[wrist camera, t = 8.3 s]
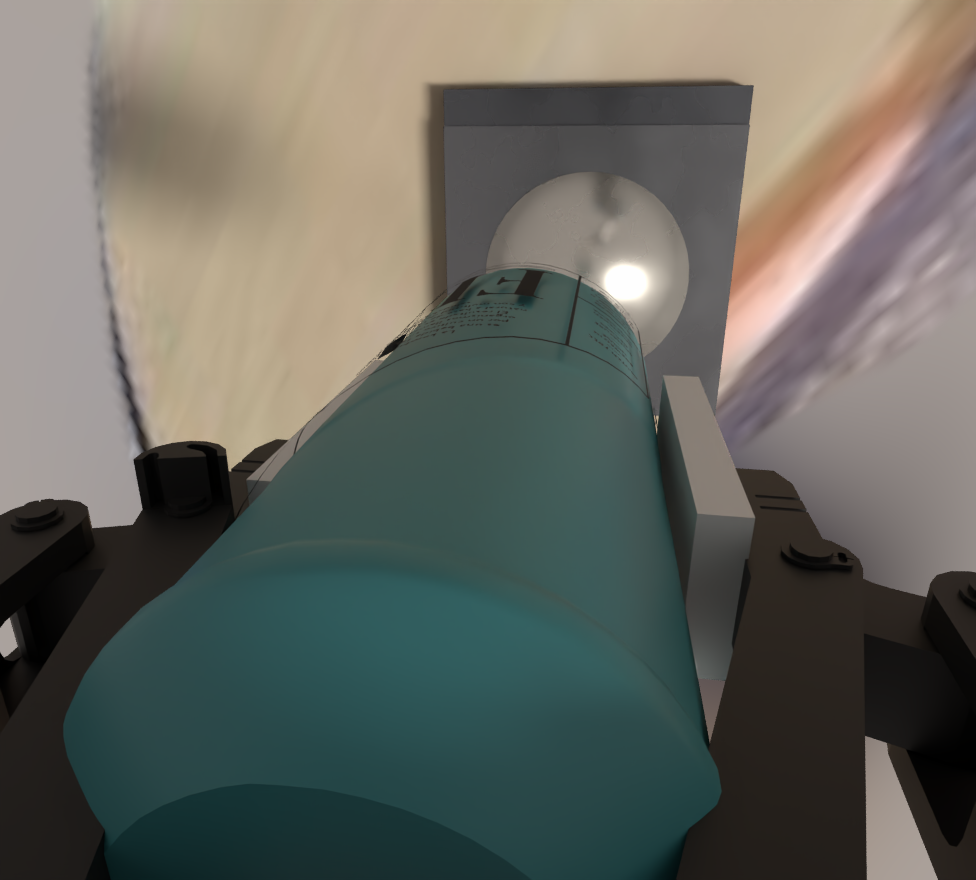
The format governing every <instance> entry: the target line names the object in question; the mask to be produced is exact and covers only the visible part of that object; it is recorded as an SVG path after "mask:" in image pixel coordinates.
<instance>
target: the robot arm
mask: <svg viewBox="0 0 976 880" xmlns="http://www.w3.org/2000/svg"><path fill="white" fill-rule="evenodd" d="M382 362H383V361H380V360H375V361H374V362H373V363H371V364H370V365H369V366H368V367H367V368H366V369H365V370H364V371H363V372H362V373H361V374H360V375H358V376H357V377H356V378H355V379H354V380H353V381H352V382H351V383H350V384H349V385H348V386H347V387H346V388H344V389H343V390H342V391H341V392H340V393H339V394H338V395H337V396H336V397H337V398H336V397H335V398H336V399H335V398H334V399H333V400H332V401H330V402H331V403H330V402H329V403H330V404H329V403H328V404H329V405H328V404H327V405H326V406H325V407H326V408H325V407H324V408H325V409H324V410H322V411H320V412H319V414H318V415H317V414H316V415H315V416H314V417H313V418H312V420H311V421H310V422H308V423H307V424H306V425H305V426H306V427H305V426H303V427H302V428H301V429H300V430H299V431H298V432H297V433H296V434H295V435H294V436H293V437H292V438H293V439H292V438H291V439H292V440H291V439H289V440H280V439H276V440H274V441H272V442H269V443H267V444H265V445H262V446H260V447H258V448H255V449H254V450H253V451H252V452H251V453H250V454H248V455H247V456H246V457H245V458H244V459H243V460H242V462H239V463H238V464H237V465H236V466H234V467H233V468H232V469H231V472H229V470H228V463H227V455H226V449H225V448H223V447H222V446H220V445H219V444H215V443H211V442H205V441H186V442H177V443H171V444H166V445H162V446H158V447H155V448H152V449H150V450H148V451H145V452H143V453H141V454H140V455H139V456H137V457H136V458H135V459H134V465H135V471H136V476H137V481H138V487H139V492H140V497H141V503H142V508H143V510H142V511H141V513H140V514H139V516H138V518H137V519H136V521H135V522H134V524H133V525H127V526H115V527H103V528H92V525H91V521H90V516H89V512H88V507H87V506H85V505H84V504H82V503H81V502H77V501H71V500H53V499H45V500H41V502H39V501H33V502H29V503H27V504H26V505H25V506H22V507H19V508H15V509H12V510H10V511H8V512H6V513H4V514H2V515H0V627H1V626H2V625H3V623H4V622H5V621H6V620H7V619H8V618H9V617H10V620H11V624H12V627H13V631H14V634H15V638H16V642H17V645H18V647H17V648H16V649H15V650H14V651H13V652H11V653H10V654H9V655H8V656H6V657H3V656H2V655H1V653H0V880H111V879H110V875H109V871H108V867H107V864H106V860H105V856H104V838H105V829H104V828H103V826H102V825H101V823H100V822H99V821H98V819H97V818H96V816H95V814H94V813H93V811H92V810H91V808H90V806H89V804H88V802H87V800H86V797H85V795H84V793H83V791H82V789H81V787H80V784H79V782H78V780H77V777H76V775H75V773H74V771H73V768H72V766H71V764H70V761H69V759H68V757H67V752H66V747H65V743H64V738H63V724H64V720H65V716H66V713H67V711H68V709H69V707H70V704H71V702H72V700H73V698H74V696H75V693H76V691H77V689H78V687H79V685H80V683H81V681H82V679H83V677H84V675H85V673H86V672H87V670H88V669H89V667H90V666H91V664H92V663H93V662H94V660H95V659H96V657H97V656H98V654H99V653H100V652H101V650H102V649H103V647H104V646H105V645H106V644H107V643H108V642H109V641H110V640H111V639H112V638H113V637H114V635H115V634H116V633H117V632H118V631H119V630H120V629H121V628H122V627H123V626H124V625H125V624H126V623H127V622H128V621H129V620H130V619H131V618H132V617H133V616H134V615H135V614H136V613H137V612H138V611H139V610H140V609H141V608H142V607H143V606H145V605H146V604H148V603H149V602H150V601H152V600H153V599H155V598H156V597H158V596H159V595H160V594H162V593H163V592H165V591H166V590H168V589H169V588H170V587H172V586H174V585H175V584H176V583H177V582H178V581H179V580H180V579H181V578H182V577H183V575H184V574H185V573H186V572H187V571H188V570H189V569H190V568H191V567H192V566H193V565H194V564H195V563H196V562H197V561H198V560H199V559H200V558H201V556H202V555H203V554H204V553H205V552H206V551H207V550H208V549H209V548H210V547H211V546H212V545H213V544H214V543H215V542H216V541H217V540H218V539H219V537H220V536H221V535H222V534H223V533H224V532H225V531H226V530H227V529H228V528H229V527H230V526H231V525H232V524H233V522H234V520H235V518H236V516H237V514H238V512H239V510H240V508H241V506H242V504H243V503H244V501H245V500H246V498H247V497H248V495H249V493H250V492H251V490H252V489H253V487H254V486H255V487H254V489H253V490H252V492H251V493H250V495H249V497H248V498H247V500H246V501H245V503H244V504H243V506H242V508H241V510H240V513H239V514H238V517H239V516H240V515H241V514H242V513H243V512H244V511H245V510H246V509H247V508H248V507H249V506H250V505H251V504H252V503H253V502H254V500H255V499H256V498H257V497H258V496H259V495H260V494H261V493H262V492H263V491H264V490H265V488H266V487H267V486H268V484H269V483H270V482H271V481H272V479H273V478H274V477H275V475H276V474H277V473H278V471H279V470H280V469H281V468H282V467H283V466H284V464H285V463H286V462H287V461H288V460H289V459H290V458H291V457H292V456H293V454H294V450H295V446H296V443H297V439H298V437H299V435H300V434H301V432H302V430H303V429H304V430H303V432H302V434H301V436H300V437H299V441H298V445H297V448H296V452H297V451H298V450H299V448H300V447H301V446H302V445H303V444H304V443H305V442H306V441H307V440H308V439H309V438H310V437H311V436H312V435H313V434H314V432H315V431H316V430H317V429H318V428H319V427H320V426H321V425H322V424H323V423H324V422H325V421H326V420H327V419H328V418H329V417H330V416H331V415H332V414H333V413H334V412H335V411H336V410H337V409H338V408H339V406H340V405H341V404H342V403H343V402H344V401H345V400H346V399H347V398H348V397H349V396H350V395H351V394H352V393H353V392H354V391H355V390H356V389H357V388H358V387H359V386H360V385H361V384H362V383H363V382H364V381H365V380H366V379H367V378H368V377H369V376H368V375H370V374H372V373H373V372H374V371H375V370H376V369H377V367H378V366H379V365H380V364H381V363H382ZM367 376H368V377H367ZM365 377H366V378H365ZM364 378H365V379H364ZM362 379H363V380H362ZM361 380H362V381H361ZM359 381H360V382H359ZM358 382H359V383H358ZM356 383H357V384H356ZM355 384H356V385H355ZM353 385H354V386H353ZM352 386H353V387H352ZM350 387H351V388H350ZM349 388H350V389H349ZM347 389H348V390H347ZM346 390H347V391H346ZM344 391H345V392H344ZM343 392H344V393H343ZM341 393H342V394H341ZM340 394H341V395H340ZM304 427H305V428H304ZM657 440H658V446H659V452H660V460H661V471H662V482H663V487H664V493H665V498H666V504H667V509H668V515H669V521H670V526H671V532H672V537H673V543H674V548H675V554H676V559H677V565H678V570H679V576H680V582H681V587H682V593H683V598H684V604H685V609H686V615H687V620H688V626H689V631H690V637H691V643H692V648H693V654H694V659H695V665H696V670H697V676H698V678H702V679H712V680H722V681H725V685H724V689H723V693H722V698H721V701H720V705H719V709H718V714H717V717H716V721H715V725H714V730H713V733H712V737H711V741H710V745H709V749H708V751H709V753H710V754H711V756H712V758H713V760H714V762H715V764H716V766H717V769H718V773H719V779H720V785H721V791H722V792H721V795H720V798H719V801H718V803H717V805H716V806H715V807H714V808H713V809H712V810H711V811H709V812H708V813H707V814H706V815H705V816H704V817H703V818H702V819H700V820H699V821H698V822H696V823H695V824H694V825H693V826H691V827H690V828H689V830H688V834H687V838H686V842H685V846H684V850H683V854H682V858H681V862H680V866H679V870H678V874H677V878H676V880H867V866H866V865H867V864H866V783H865V782H866V780H865V736H868V737H871V738H874V739H877V740H880V741H883V742H886V743H887V746H888V754H889V757H890V759H891V762H892V764H893V767H894V770H895V772H896V775H897V777H898V780H899V782H900V784H901V787H902V790H903V792H904V795H905V797H906V800H907V802H908V805H909V807H910V810H911V812H912V815H913V818H914V820H915V823H916V825H917V827H918V830H919V833H920V835H921V838H922V840H923V843H924V845H925V848H926V850H927V853H928V855H929V858H930V860H931V863H932V866H933V868H934V870H935V873H936V876H937V878H938V880H976V573H975V572H968V571H967V572H965V571H950V572H947V573H943V574H939V575H937V576H936V577H935V578H934V579H933V581H932V582H931V583H930V587H929V591H928V594H927V597H923V596H919V595H915V594H910V593H907V592H903V591H899V590H895V589H891V588H888V587H884V586H881V585H877V584H874V583H872V582H869V581H867V580H865V579H863V568H862V565H861V563H860V561H859V559H858V558H857V557H856V556H855V555H854V554H852V553H851V552H850V551H849V550H847V549H846V548H844V547H841V546H840V545H838V544H836V543H834V542H832V541H828V540H825V539H822V537H821V535H820V533H819V532H818V530H817V528H816V526H815V524H814V523H813V521H812V519H811V517H810V515H809V513H808V512H806V508H805V506H804V504H803V502H802V501H800V497H799V496H798V494H797V491H796V490H795V488H794V486H793V484H792V483H790V482H789V481H787V480H786V479H785V478H783V477H782V476H780V475H779V474H777V473H776V472H775V471H769V470H753V469H737V468H735V466H734V464H733V461H732V459H731V456H730V454H729V451H728V449H727V446H726V444H725V441H724V439H723V436H722V434H721V431H720V429H719V426H718V424H717V421H716V419H715V416H714V414H713V411H712V409H711V406H710V404H709V401H708V399H707V396H706V394H705V391H704V389H703V386H702V384H701V381H700V379H699V377H690V376H671V375H663V381H662V391H661V400H660V410H659V420H658V429H657ZM277 454H278V455H277ZM276 455H277V456H276ZM275 456H276V457H275ZM274 458H275V459H274ZM273 459H274V460H273ZM272 460H273V461H272ZM271 462H272V463H271ZM270 463H271V464H270ZM269 464H270V465H269ZM267 467H268V468H267ZM266 468H267V469H266ZM264 471H265V472H264ZM263 472H264V473H263ZM262 473H263V474H262ZM261 475H262V476H261ZM260 476H261V477H260ZM259 477H260V479H259ZM258 479H259V481H258ZM257 481H258V482H257ZM256 482H257V484H256ZM255 484H256V485H255ZM238 517H237V518H238Z"/></svg>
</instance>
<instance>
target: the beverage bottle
mask: <svg viewBox="0 0 976 880" xmlns="http://www.w3.org/2000/svg"><path fill="white" fill-rule="evenodd" d="M508 264H511V263H508ZM533 264H537V263H533ZM502 265H505V264H502ZM542 265H546V264H542ZM496 266H498V265H496ZM512 266H513V265H512ZM512 266H511V267H512ZM517 266H518V265H517ZM517 266H516V267H517ZM522 266H523V265H521V267H522ZM527 266H528V265H526V267H527ZM548 266H550V265H548ZM492 267H493V266H492ZM506 267H508V266H506ZM509 267H510V266H509ZM514 267H515V265H514ZM519 267H520V265H519ZM523 267H525V265H524V266H523ZM529 267H530V265H529ZM531 267H532V266H531ZM534 267H535V266H534ZM537 267H538V266H537ZM537 267H536V268H537ZM552 267H554V266H552ZM489 268H490V267H489ZM499 268H500V267H499ZM499 268H498V267H497V268H496V269H499ZM501 268H503V267H501ZM504 268H505V266H504ZM539 268H540V267H539ZM541 268H542V267H541ZM556 268H558V267H556ZM486 269H487V268H486ZM492 269H493V268H492ZM492 269H491V270H492ZM494 269H495V268H494ZM544 269H545V267H544V268H543V269H535V268H512V269H505V270H499V271H495V272H492V273H488V274H487V273H486V274H485V275H484V274H482V276H481V275H479V276H480V277H478V276H476V277H472V278H470V279H468V280H466V281H463V282H461V283H462V284H461V285H460V286H459V287H458V288H457V289H456V290H455V291H453V292H452V293H451V294H450V295H449V296H447V297H446V298H445V299H444V300H443V301H442V302H441V303H440V304H439V305H438V306H437V307H436V308H435V309H434V310H433V311H432V310H431V311H432V312H431V313H430V314H429V315H428V316H427V317H426V318H425V319H424V320H423V321H422V322H421V321H420V322H421V323H420V322H419V323H420V324H419V325H418V326H417V325H416V324H415V323H416V322H415V323H414V324H415V325H416V326H417V327H416V328H415V330H414V328H413V330H414V331H413V330H412V331H413V332H411V333H410V335H409V334H408V335H409V336H408V337H406V338H405V336H406V334H407V333H406V332H405V331H406V330H405V329H406V328H408V326H409V325H410V324H411V323H412V322H413V321H414V320H415V319H416V318H417V317H418V316H419V315H420V314H421V313H420V314H419V315H418V316H417V317H416V318H415V319H414V320H413V321H412V322H411V323H410V324H409V325H408V326H407V327H406V328H405V329H404V330H405V331H404V330H403V331H404V332H405V333H406V334H404V333H403V334H404V335H403V334H402V332H403V331H402V332H401V333H400V334H402V335H403V336H401V335H400V334H399V335H400V336H401V337H399V338H398V336H399V335H398V336H397V337H396V338H398V339H397V340H395V339H396V338H395V339H394V340H395V341H394V340H393V341H394V342H393V341H392V342H391V343H389V344H388V346H386V347H385V349H384V351H383V350H382V351H383V352H382V351H381V352H382V354H381V355H380V357H379V358H381V357H383V356H385V355H387V354H389V353H390V352H392V351H393V352H392V353H391V354H390V355H389V356H388V357H387V358H386V359H385V360H384V361H383V362H382V363H381V364H380V365H379V366H378V367H377V369H376V370H375V371H374V372H373V373H372V374H370V375H368V376H369V377H368V376H367V377H368V378H367V379H366V380H365V381H364V382H363V383H362V384H361V385H360V386H359V387H358V388H357V389H356V390H355V391H354V392H353V393H352V394H351V395H350V396H349V397H348V398H347V399H346V400H345V401H344V402H343V403H342V404H341V405H340V406H339V408H338V409H337V410H336V411H335V412H334V413H333V414H332V415H331V416H330V417H329V418H328V419H327V420H326V421H325V422H324V423H323V424H322V425H321V426H320V427H319V428H318V429H317V430H316V431H315V432H314V434H313V435H312V436H311V437H310V438H309V439H308V440H307V441H306V442H305V443H304V444H303V445H302V446H301V447H300V448H299V450H298V451H297V452H296V448H297V445H298V441H299V437H300V436H301V434H302V432H303V430H304V429H303V430H302V432H301V434H300V435H299V437H298V439H297V443H296V446H295V450H294V454H293V456H292V457H291V458H290V459H289V460H288V461H287V462H286V463H285V464H284V466H283V467H282V468H281V469H280V470H279V471H278V473H277V474H276V475H275V477H274V478H273V479H272V481H271V482H270V483H269V484H268V486H267V487H266V488H265V490H264V491H263V492H262V493H261V494H260V495H259V496H258V497H257V498H256V499H255V500H254V502H253V503H252V504H251V505H250V506H249V507H248V508H247V509H246V510H245V511H244V512H243V513H242V514H241V515H240V516H239V517H238V514H239V513H240V510H241V508H242V506H243V504H244V503H245V501H246V500H247V498H248V497H249V495H250V493H251V492H252V490H253V489H254V487H255V486H254V487H253V489H252V490H251V492H250V493H249V495H248V497H247V498H246V500H245V501H244V503H243V504H242V506H241V508H240V510H239V512H238V514H237V516H236V518H235V520H234V522H233V524H232V525H231V526H230V527H229V528H228V529H227V530H226V531H225V532H224V533H223V534H222V535H221V536H220V537H219V539H218V540H217V541H216V542H215V543H214V544H213V545H212V546H211V547H210V548H209V549H208V550H207V551H206V552H205V553H204V554H203V555H202V556H201V558H200V559H199V560H198V561H197V562H196V563H195V564H194V565H193V566H192V567H191V568H190V569H189V570H188V571H187V572H186V573H185V574H184V575H183V577H182V578H181V579H180V580H179V581H178V582H177V583H176V584H175V585H174V586H172V587H170V588H169V589H168V590H166V591H165V592H163V593H162V594H160V595H159V596H158V597H156V598H155V599H153V600H152V601H150V602H149V603H148V604H146V605H145V606H143V607H142V608H141V609H140V610H139V611H138V612H137V613H136V614H135V615H134V616H133V617H132V618H131V619H130V620H129V621H128V622H127V623H126V624H125V625H124V626H123V627H122V628H121V629H120V630H119V631H118V632H117V633H116V634H115V635H114V637H113V638H112V639H111V640H110V641H109V642H108V643H107V644H106V645H105V646H104V647H103V649H102V650H101V652H100V653H99V654H98V656H97V657H96V659H95V660H94V662H93V663H92V664H91V666H90V667H89V669H88V670H87V672H86V673H85V675H84V677H83V679H82V681H81V683H80V685H79V687H78V689H77V691H76V693H75V696H74V698H73V700H72V702H71V704H70V707H69V709H68V711H67V713H66V716H65V720H64V724H63V738H64V743H65V747H66V752H67V757H68V759H69V761H70V764H71V766H72V768H73V771H74V773H75V775H76V777H77V780H78V782H79V784H80V787H81V789H82V791H83V793H84V795H85V797H86V800H87V802H88V804H89V806H90V808H91V810H92V811H93V813H94V814H95V816H96V818H97V819H98V821H99V822H100V823H101V825H102V826H103V828H104V829H105V838H104V856H105V860H106V864H107V867H108V871H109V875H110V879H111V880H676V878H677V874H678V870H679V866H680V862H681V858H682V854H683V850H684V846H685V842H686V838H687V834H688V830H689V828H690V827H691V826H693V825H694V824H695V823H696V822H698V821H699V820H700V819H702V818H703V817H704V816H705V815H706V814H707V813H708V812H709V811H711V810H712V809H713V808H714V807H715V806H716V805H717V803H718V801H719V798H720V795H721V792H722V791H721V785H720V779H719V773H718V769H717V766H716V764H715V762H714V760H713V758H712V756H711V754H710V753H709V751H708V749H709V745H710V742H709V737H708V731H707V726H706V720H705V715H704V709H703V704H702V698H701V693H700V687H699V682H698V676H697V670H696V665H695V659H694V654H693V648H692V643H691V637H690V631H689V626H688V620H687V615H686V609H685V604H684V598H683V593H682V587H681V582H680V576H679V570H678V565H677V559H676V554H675V548H674V543H673V537H672V532H671V526H670V521H669V515H668V509H667V504H666V498H665V493H664V487H663V482H662V471H661V460H660V452H659V446H658V440H657V434H656V427H655V424H657V420H656V422H655V421H654V415H653V410H654V413H655V409H654V408H653V409H652V403H651V396H650V390H649V384H648V378H647V372H646V366H645V361H644V357H643V354H642V347H641V340H640V334H639V330H638V335H639V342H640V345H639V343H638V341H637V339H636V337H635V334H634V332H633V331H632V329H631V327H630V325H631V324H632V323H631V322H630V321H629V322H630V323H631V324H630V325H629V324H628V323H629V322H628V323H627V321H626V320H625V319H626V318H625V317H626V316H625V317H624V316H622V315H623V314H622V313H623V312H624V311H623V312H622V313H621V312H620V311H621V310H622V309H621V308H620V309H621V310H620V311H618V310H617V308H616V307H617V306H618V305H617V304H616V303H615V304H616V305H617V306H616V305H615V304H614V305H615V306H616V307H615V306H614V305H613V304H611V303H612V301H610V300H609V301H610V302H611V303H610V302H609V301H608V300H607V299H608V298H607V297H609V296H607V297H605V296H604V295H603V294H605V293H603V292H602V291H600V290H599V291H600V292H602V293H603V294H601V293H600V292H599V293H598V291H596V289H593V287H592V288H591V287H590V286H588V285H586V284H584V283H582V282H581V277H582V276H580V275H579V278H578V280H577V279H574V278H572V277H569V276H566V275H564V274H561V273H557V272H553V271H555V269H554V270H553V271H552V269H551V271H549V270H550V268H549V269H548V270H544ZM546 269H547V268H546ZM560 269H562V268H560ZM482 270H483V269H482ZM489 270H490V269H489ZM564 270H565V269H564ZM479 271H480V270H479ZM485 271H486V270H485ZM485 271H484V272H485ZM487 271H488V270H487ZM566 271H568V270H566ZM569 272H570V271H569ZM474 273H475V272H474ZM480 273H481V272H480ZM571 273H573V272H571ZM472 274H473V273H472ZM476 274H477V273H476ZM476 274H475V275H476ZM574 274H575V273H574ZM470 275H471V274H470ZM576 275H578V274H576ZM471 276H472V275H471ZM469 277H470V276H469ZM469 277H467V278H469ZM477 277H478V278H477ZM463 278H464V277H463ZM467 278H466V279H467ZM583 278H584V277H583ZM585 279H586V278H585ZM586 280H588V279H586ZM460 281H461V279H460ZM460 281H459V282H460ZM588 281H589V280H588ZM590 282H591V281H590ZM592 283H593V282H592ZM459 284H460V283H459ZM594 284H595V283H594ZM452 285H453V284H452ZM454 285H455V284H454ZM454 285H453V286H454ZM457 285H458V284H457ZM595 285H596V284H595ZM455 286H456V285H455ZM597 286H598V285H597ZM449 287H450V286H449ZM598 287H599V286H598ZM450 289H451V288H450ZM601 289H602V288H601ZM446 290H447V289H446ZM446 290H445V291H446ZM602 290H603V289H602ZM447 291H448V290H447ZM604 291H605V290H604ZM443 292H444V291H443ZM605 292H606V291H605ZM444 293H445V292H444ZM607 293H608V292H607ZM442 294H443V293H442ZM442 294H440V296H441V295H442ZM608 294H609V293H608ZM605 295H606V294H605ZM609 295H610V294H609ZM610 296H611V295H610ZM437 297H438V296H437ZM437 297H436V299H437ZM611 297H612V296H611ZM606 298H607V299H606ZM612 298H613V297H612ZM436 299H435V300H436ZM610 299H611V298H610ZM435 300H434V301H435ZM434 301H432V303H433V302H434ZM432 303H430V304H432ZM619 304H620V303H619ZM620 305H621V304H620ZM618 307H619V306H618ZM425 309H426V308H425ZM425 309H424V310H425ZM618 309H619V308H618ZM623 309H624V308H623ZM424 310H423V311H424ZM624 310H625V309H624ZM625 311H626V310H625ZM423 313H424V312H423ZM621 314H622V315H621ZM625 315H626V313H625ZM628 315H629V314H628ZM421 316H422V315H421ZM629 316H630V315H629ZM627 319H628V318H627ZM421 320H422V319H421ZM628 320H629V319H628ZM633 322H634V321H633ZM417 324H418V323H417ZM415 325H414V326H415ZM632 325H633V324H632ZM635 325H636V324H635ZM412 327H413V326H412ZM636 327H637V326H636ZM410 328H411V327H410ZM410 328H409V329H410ZM632 328H633V327H632ZM633 329H634V328H633ZM637 329H638V328H637ZM408 331H409V330H408ZM408 331H407V332H408ZM409 332H410V331H409ZM409 332H408V333H409ZM404 338H405V340H404ZM403 340H404V341H403ZM379 354H380V353H379ZM379 354H378V356H379ZM379 358H378V359H379ZM372 360H374V359H372ZM372 360H371V361H372ZM369 363H370V362H369ZM367 365H369V364H367ZM364 368H365V367H364ZM364 368H363V369H364ZM363 369H362V370H363ZM362 370H361V371H362ZM361 371H360V372H361ZM356 376H357V375H356ZM365 378H366V377H365ZM365 378H364V379H365ZM362 380H363V379H362ZM362 380H361V381H362ZM359 382H360V381H359ZM359 382H358V383H359ZM356 384H357V383H356ZM356 384H355V385H356ZM353 386H354V385H353ZM353 386H352V387H353ZM350 388H351V387H350ZM350 388H349V389H350ZM347 390H348V389H347ZM347 390H346V391H347ZM344 392H345V391H344ZM344 392H343V393H344ZM341 394H342V393H341ZM341 394H340V395H341ZM336 398H337V397H336ZM336 398H335V399H336ZM330 403H331V402H330ZM330 403H329V404H330ZM329 404H328V405H329ZM325 408H326V407H325ZM325 408H323V409H322V410H324V409H325ZM322 410H321V411H322ZM318 414H319V412H318V413H317V415H318ZM655 418H656V414H655ZM311 420H312V419H311ZM311 420H310V421H311ZM310 421H309V422H310ZM305 427H306V426H305ZM305 427H304V428H305ZM657 429H658V425H657ZM292 439H293V438H292ZM292 439H291V440H292ZM277 455H278V454H277ZM277 455H276V456H277ZM276 456H275V457H276ZM274 459H275V458H274ZM274 459H273V460H274ZM273 460H272V461H273ZM271 463H272V462H271ZM271 463H270V464H271ZM270 464H269V465H270ZM267 468H268V467H267ZM267 468H266V469H267ZM264 472H265V471H264ZM264 472H263V473H264ZM263 473H262V474H263ZM261 476H262V475H261ZM261 476H260V477H261ZM260 477H259V479H260ZM259 479H258V481H259ZM258 481H257V482H258ZM257 482H256V484H257ZM256 484H255V485H256ZM237 517H238V518H237Z"/></svg>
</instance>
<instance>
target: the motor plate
mask: <svg viewBox="0 0 976 880" xmlns="http://www.w3.org/2000/svg"><path fill="white" fill-rule="evenodd" d="M753 87H754V85H745V86H670V87H595V88H520V89H445V90H444V167H445V212H446V257H447V290H448V291H447V296H449V295H450V294H451V293H452V292H453V291H455V290H456V289H457V288H458V287H459V286H460V285H461V284H462V283H461V282H463V281H466V280H468V279H470V278H472V277H476V276H478V277H480V276H479V275H481V276H482V274H484V275H485V274H486V273H487V274H488V273H492V272H495V271H499V270H505V269H512V268H535V269H543V268H544V267H545V269H544V270H548V269H549V268H550V270H549V271H551V269H552V271H553V270H554V269H555V271H553V272H557V273H561V274H564V275H566V276H569V277H572V278H574V279H577V280H578V278H579V275H580V276H582V277H581V282H582V283H584V284H586V285H588V286H590V287H591V288H592V287H593V289H596V291H598V293H599V292H600V291H602V292H603V293H605V294H606V295H605V294H603V293H602V292H600V293H601V294H603V295H604V296H605V297H607V296H609V297H607V298H608V299H607V298H606V299H607V300H608V301H609V300H610V301H612V303H611V302H610V301H609V302H610V303H611V304H613V305H614V304H615V303H616V304H617V305H618V306H619V307H618V306H617V305H616V304H615V305H616V306H617V307H616V306H615V305H614V306H615V307H616V308H617V310H618V311H620V310H621V309H622V310H621V311H620V312H621V313H622V312H623V311H624V312H623V313H622V314H623V315H622V314H621V315H622V316H624V317H625V316H626V317H625V318H626V319H625V320H626V321H627V323H628V322H629V321H630V322H631V323H632V324H633V325H632V324H631V323H630V322H629V323H628V324H629V325H630V324H631V325H630V327H631V329H632V331H633V332H634V334H635V337H636V339H637V341H638V343H639V345H640V342H639V335H638V330H639V334H640V340H641V347H642V354H643V357H644V361H645V366H646V372H647V378H648V384H649V390H650V396H651V403H652V409H653V408H654V409H655V413H654V410H653V415H655V414H656V415H659V410H660V400H661V391H662V381H663V375H671V376H690V377H699V379H700V381H701V384H702V386H703V389H704V391H705V394H706V396H707V399H708V401H709V404H710V406H711V409H712V411H713V414H714V416H715V411H716V403H717V395H718V386H719V378H720V369H721V361H722V353H723V344H724V336H725V328H726V319H727V311H728V303H729V294H730V286H731V278H732V269H733V261H734V252H735V244H736V236H737V227H738V219H739V211H740V202H741V194H742V186H743V177H744V169H745V160H746V152H747V144H748V135H749V127H750V125H749V120H750V112H751V104H752V95H753ZM508 263H511V264H508ZM533 263H537V264H533ZM502 264H505V265H502ZM542 264H546V265H542ZM496 265H498V266H496ZM512 265H513V266H512ZM514 265H515V267H514ZM517 265H518V266H517ZM519 265H520V267H519ZM521 265H523V266H524V265H525V267H523V266H522V267H521ZM526 265H528V266H527V267H526ZM529 265H530V267H529ZM548 265H550V266H548ZM492 266H493V267H492ZM504 266H505V268H504ZM506 266H508V267H506ZM509 266H510V267H509ZM511 266H512V267H511ZM516 266H517V267H516ZM531 266H532V267H531ZM534 266H535V267H534ZM537 266H538V267H537ZM552 266H554V267H552ZM489 267H490V268H489ZM497 267H498V268H499V267H500V268H499V269H496V268H497ZM501 267H503V268H501ZM536 267H537V268H536ZM539 267H540V268H539ZM541 267H542V268H541ZM556 267H558V268H556ZM486 268H487V269H486ZM492 268H493V269H492ZM494 268H495V269H494ZM546 268H547V269H546ZM560 268H562V269H560ZM482 269H483V270H482ZM489 269H490V270H489ZM491 269H492V270H491ZM564 269H565V270H564ZM479 270H480V271H479ZM485 270H486V271H485ZM487 270H488V271H487ZM566 270H568V271H566ZM484 271H485V272H484ZM569 271H570V272H569ZM474 272H475V273H474ZM480 272H481V273H480ZM571 272H573V273H571ZM472 273H473V274H472ZM476 273H477V274H476ZM574 273H575V274H574ZM470 274H471V275H472V276H471V275H470ZM475 274H476V275H475ZM576 274H578V275H576ZM469 276H470V277H469ZM463 277H464V278H463ZM467 277H469V278H467ZM478 277H477V278H478ZM583 277H584V278H583ZM466 278H467V279H466ZM585 278H586V279H588V280H589V281H588V280H586V279H585ZM460 279H461V281H460ZM459 281H460V282H459ZM590 281H591V282H590ZM592 282H593V283H592ZM459 283H460V284H459ZM594 283H595V284H596V285H595V284H594ZM452 284H453V285H454V284H455V285H456V286H455V285H454V286H453V285H452ZM457 284H458V285H457ZM597 285H598V286H599V287H598V286H597ZM449 286H450V287H449ZM450 288H451V289H450ZM601 288H602V289H603V290H602V289H601ZM599 290H600V291H599ZM604 290H605V291H606V292H605V291H604ZM607 292H608V293H609V294H610V295H611V296H612V297H613V298H612V297H611V296H610V295H609V294H608V293H607ZM610 298H611V299H610ZM619 303H620V304H621V305H620V304H619ZM618 308H619V309H618ZM620 308H621V309H620ZM623 308H624V309H625V310H626V311H625V310H624V309H623ZM625 313H626V315H625ZM628 314H629V315H630V316H629V315H628ZM627 318H628V319H629V320H628V319H627ZM633 321H634V322H633ZM635 324H636V325H635ZM636 326H637V327H636ZM632 327H633V328H634V329H633V328H632ZM637 328H638V329H637Z"/></svg>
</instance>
